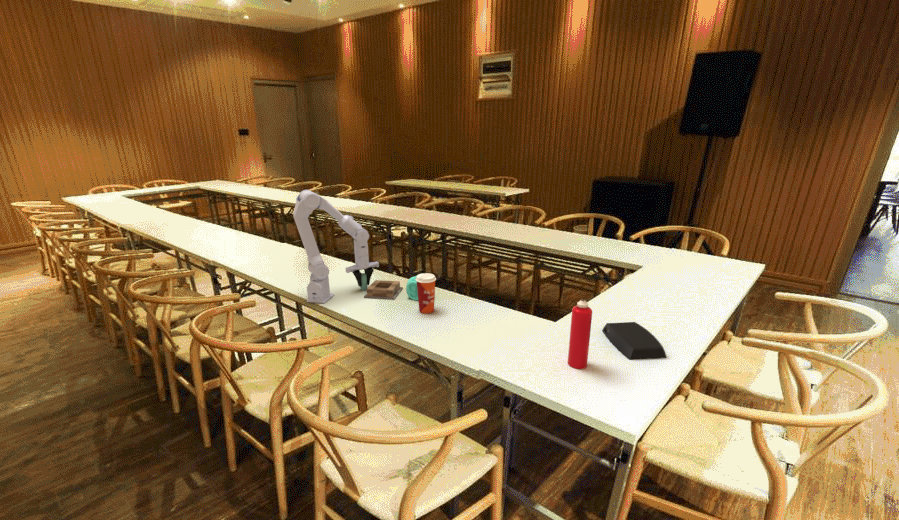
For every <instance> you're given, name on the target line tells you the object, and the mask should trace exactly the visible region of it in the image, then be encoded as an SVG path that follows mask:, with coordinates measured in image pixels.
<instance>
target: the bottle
mask: <svg viewBox="0 0 899 520" xmlns="http://www.w3.org/2000/svg"><path fill="white" fill-rule="evenodd" d="M576 303H577V304H576V305H574V306H573V307H572V309H571V320H570V331H569V341H568V342H569V344H568V355H567V365H568V366H569V367H571V368H572V369H576V370H583V369H586V368H587V367H588V360H589V349H590V341H591V339H590V337H591V331H592V330H591V329H592V328H591V326H592V320H593V309H592V308H591V307H589V303H588V302H587V301H586V300H585V299H580V300H579V301H577V302H576Z"/></svg>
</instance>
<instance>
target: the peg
mask: <svg viewBox="0 0 899 520" xmlns="http://www.w3.org/2000/svg"><path fill="white" fill-rule="evenodd" d="M361 273H362V275H361V282H362V287H359V288H360V291H365V292H366V291H367V288H368V287H369V286H368V285H367V274H366V273H365V272H361Z"/></svg>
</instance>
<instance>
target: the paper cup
mask: <svg viewBox="0 0 899 520" xmlns="http://www.w3.org/2000/svg"><path fill="white" fill-rule="evenodd" d="M416 276H417V278H416V281H417V292H418V301H417V302H418V310H419V313H421V314H432V313H434V311H435V296H436V280H437V278H436V276H435V274H433V273H429V272H428V273H427V272H424V273H419V274H417V275H416Z"/></svg>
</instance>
